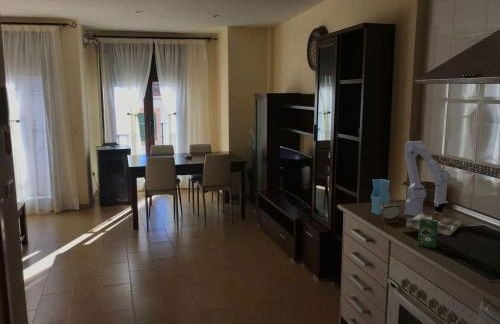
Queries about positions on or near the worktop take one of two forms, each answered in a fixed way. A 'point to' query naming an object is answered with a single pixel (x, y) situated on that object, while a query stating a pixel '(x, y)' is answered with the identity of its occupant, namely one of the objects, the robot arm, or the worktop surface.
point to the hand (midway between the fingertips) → (438, 216)
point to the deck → (444, 224)
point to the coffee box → (427, 232)
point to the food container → (390, 212)
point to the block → (436, 215)
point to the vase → (379, 195)
